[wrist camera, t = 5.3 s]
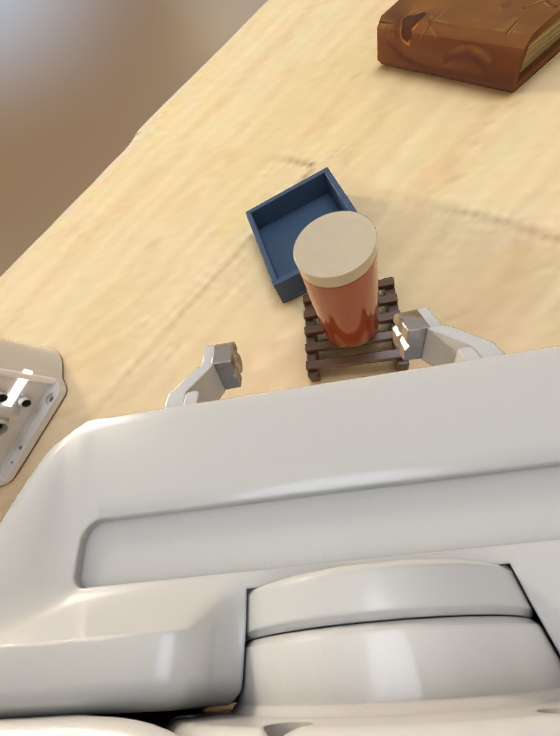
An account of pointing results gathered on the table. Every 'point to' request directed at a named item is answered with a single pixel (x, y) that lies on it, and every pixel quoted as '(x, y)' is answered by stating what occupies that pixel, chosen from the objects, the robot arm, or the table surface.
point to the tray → (293, 226)
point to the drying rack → (315, 347)
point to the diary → (471, 39)
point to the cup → (341, 275)
